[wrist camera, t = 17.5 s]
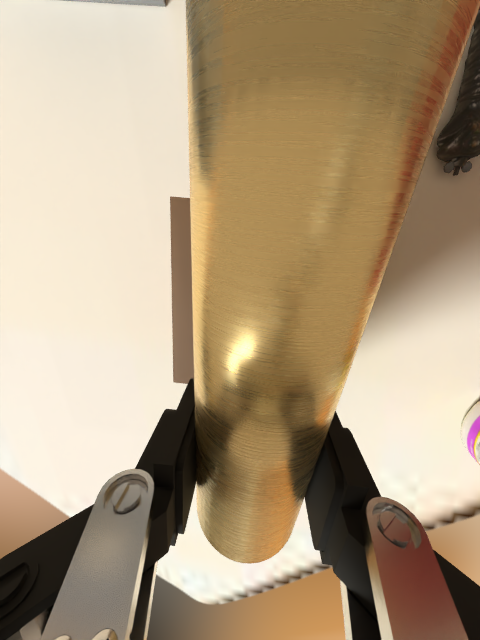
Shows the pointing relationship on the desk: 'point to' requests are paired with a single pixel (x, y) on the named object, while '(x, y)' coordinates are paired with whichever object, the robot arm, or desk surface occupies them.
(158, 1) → the grey hollow block
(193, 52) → the axle
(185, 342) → the v block
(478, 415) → the supplement bottle
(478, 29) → the hacksaw
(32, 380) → the desk surface
